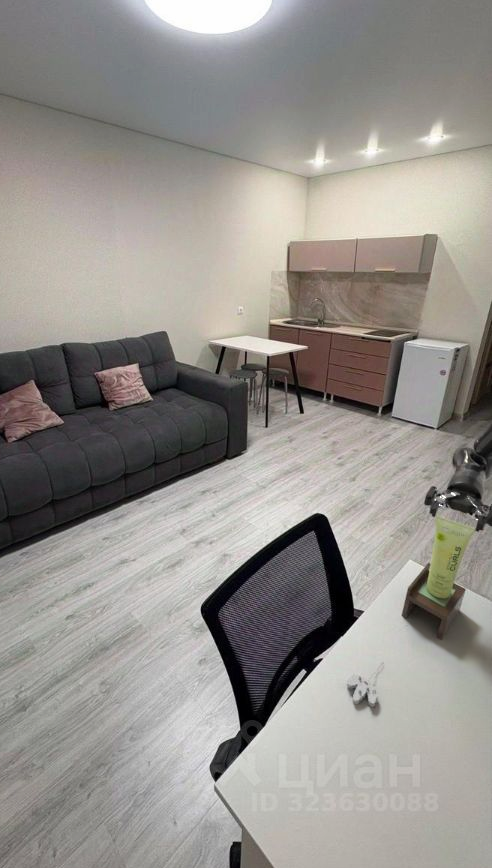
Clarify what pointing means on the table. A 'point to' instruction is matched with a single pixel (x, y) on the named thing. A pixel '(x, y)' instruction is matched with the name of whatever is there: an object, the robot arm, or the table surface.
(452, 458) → the robot arm
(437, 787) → the table surface
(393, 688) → the table surface
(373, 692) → the white lobed piece
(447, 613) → the wooden display stand
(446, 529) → the tube
